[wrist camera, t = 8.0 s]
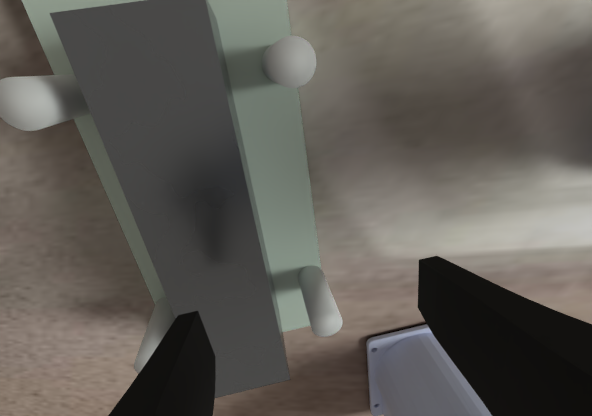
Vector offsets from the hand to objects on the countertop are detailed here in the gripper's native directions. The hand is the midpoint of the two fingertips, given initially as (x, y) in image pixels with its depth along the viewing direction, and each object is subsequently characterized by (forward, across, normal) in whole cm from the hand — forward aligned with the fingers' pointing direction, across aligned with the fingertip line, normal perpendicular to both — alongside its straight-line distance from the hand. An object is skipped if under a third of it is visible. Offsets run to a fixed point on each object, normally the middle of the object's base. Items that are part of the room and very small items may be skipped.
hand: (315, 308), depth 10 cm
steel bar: (+8, +3, -1) cm, 9 cm away
